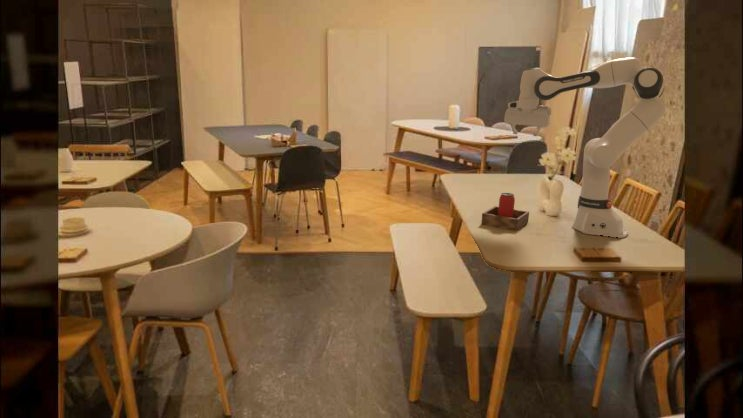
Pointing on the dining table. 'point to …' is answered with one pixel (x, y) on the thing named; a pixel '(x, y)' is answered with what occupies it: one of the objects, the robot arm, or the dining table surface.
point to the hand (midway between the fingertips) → (525, 135)
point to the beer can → (506, 205)
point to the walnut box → (505, 219)
